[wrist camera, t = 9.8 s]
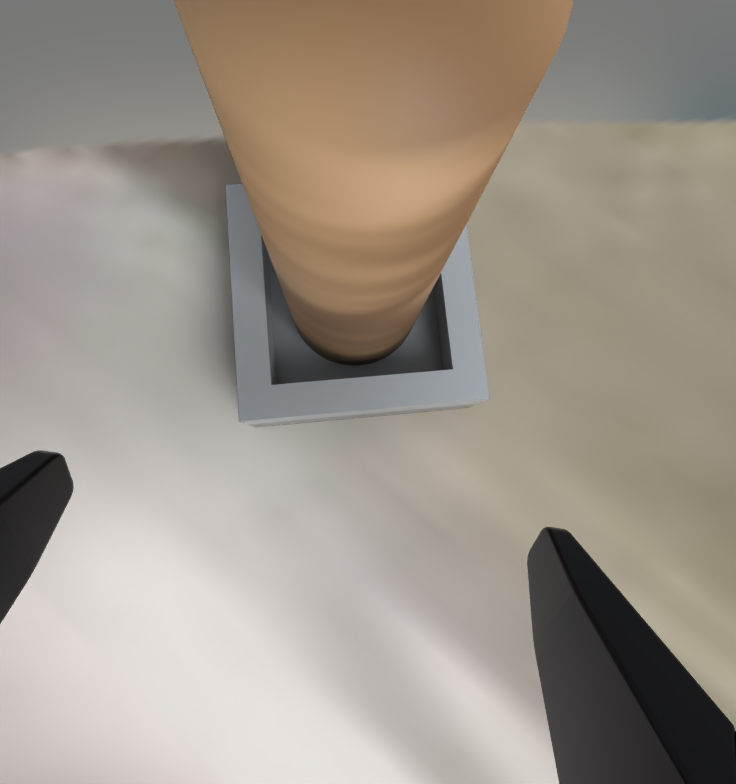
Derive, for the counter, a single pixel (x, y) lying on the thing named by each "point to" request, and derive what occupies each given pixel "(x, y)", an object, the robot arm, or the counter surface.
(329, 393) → the socket base
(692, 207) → the counter surface
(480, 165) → the tan round-ended cylinder
